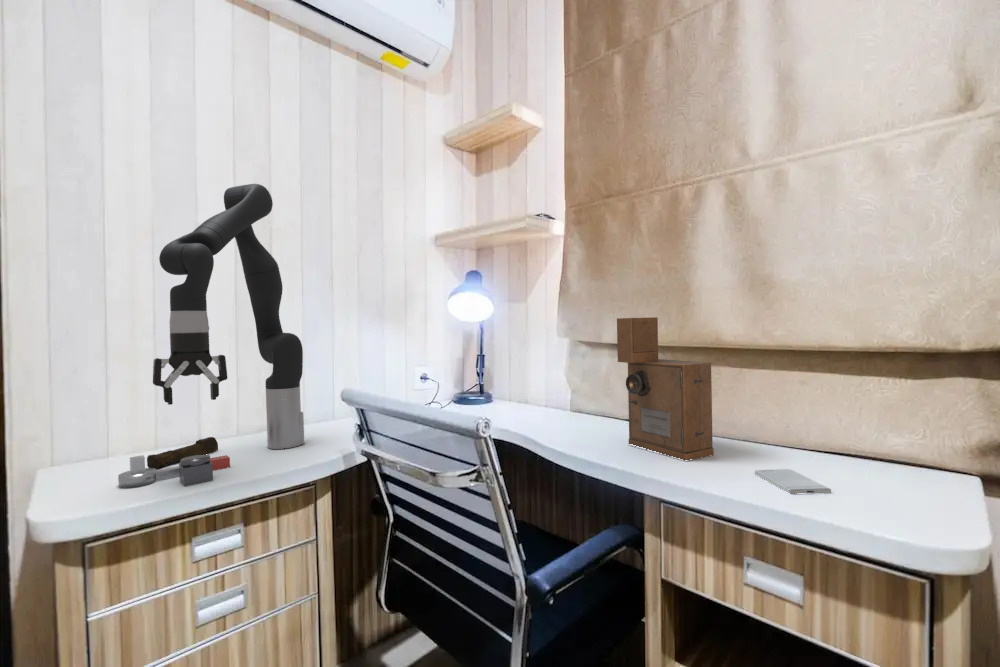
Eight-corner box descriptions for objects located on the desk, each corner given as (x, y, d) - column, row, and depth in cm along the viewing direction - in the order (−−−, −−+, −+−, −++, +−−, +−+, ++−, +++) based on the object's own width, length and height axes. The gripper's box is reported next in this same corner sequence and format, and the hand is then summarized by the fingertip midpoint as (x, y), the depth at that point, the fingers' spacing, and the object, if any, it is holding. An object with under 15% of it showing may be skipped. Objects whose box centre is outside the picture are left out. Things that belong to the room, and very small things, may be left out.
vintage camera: (617, 447, 132) (615, 318, 131) (655, 440, 139) (652, 317, 138) (674, 464, 115) (671, 316, 115) (713, 455, 122) (711, 315, 121)
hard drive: (754, 469, 106) (789, 488, 94) (791, 468, 106) (831, 487, 94) (754, 477, 106) (789, 497, 94) (791, 476, 106) (831, 496, 94)
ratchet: (224, 463, 126) (224, 440, 126) (232, 468, 121) (231, 444, 121) (117, 483, 111) (116, 457, 111) (120, 490, 106) (119, 463, 106)
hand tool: (156, 471, 121) (155, 452, 121) (145, 469, 123) (145, 451, 122) (224, 452, 139) (224, 436, 139) (214, 451, 140) (214, 435, 140)
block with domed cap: (207, 475, 116) (207, 453, 116) (213, 480, 112) (212, 457, 111) (179, 480, 112) (178, 458, 112) (183, 486, 108) (182, 463, 108)
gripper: (220, 330, 119) (223, 396, 119) (149, 332, 109) (152, 404, 109) (228, 330, 113) (230, 399, 113) (153, 332, 104) (156, 407, 104)
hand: (192, 401), depth 111 cm, fingers open, 8 cm apart
